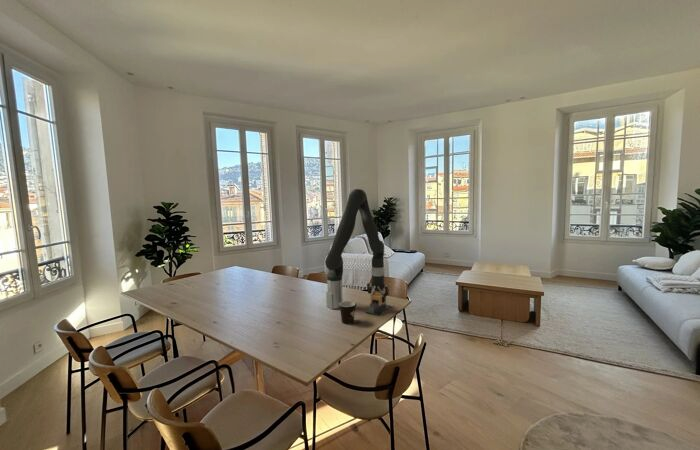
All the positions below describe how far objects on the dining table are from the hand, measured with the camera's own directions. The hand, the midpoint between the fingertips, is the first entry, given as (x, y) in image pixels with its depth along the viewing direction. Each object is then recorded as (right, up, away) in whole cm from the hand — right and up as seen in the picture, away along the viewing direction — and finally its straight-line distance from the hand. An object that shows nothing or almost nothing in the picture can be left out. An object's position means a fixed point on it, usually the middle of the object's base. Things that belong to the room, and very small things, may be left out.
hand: (378, 301), depth 182 cm
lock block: (0, -1, 0) cm, 1 cm away
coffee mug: (-17, -7, -15) cm, 24 cm away
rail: (0, -5, 0) cm, 5 cm away
